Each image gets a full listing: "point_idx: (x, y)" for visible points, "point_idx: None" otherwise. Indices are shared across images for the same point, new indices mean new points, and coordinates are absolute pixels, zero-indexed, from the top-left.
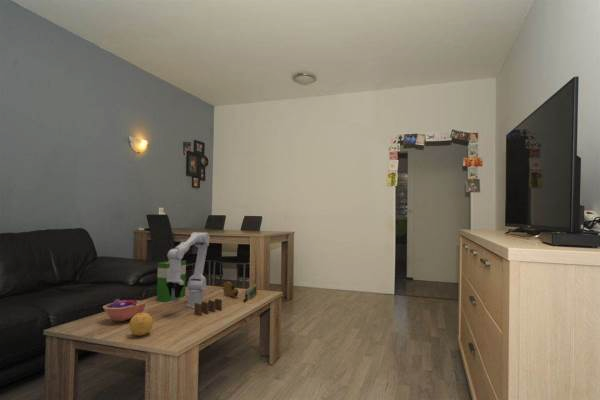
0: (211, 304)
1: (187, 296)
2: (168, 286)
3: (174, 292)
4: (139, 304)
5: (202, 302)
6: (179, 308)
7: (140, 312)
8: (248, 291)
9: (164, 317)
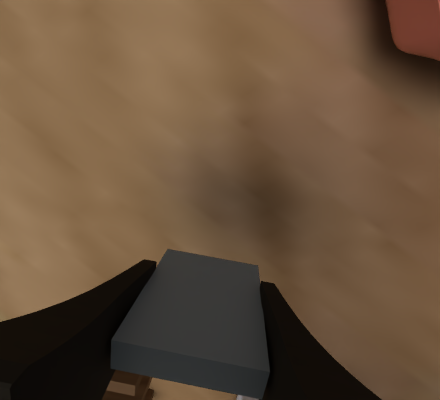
0: (110, 393)
1: None
2: (300, 377)
3: (176, 312)
4: None
5: (126, 379)
6: (327, 330)
7: (387, 5)
8: None
9: (249, 165)
